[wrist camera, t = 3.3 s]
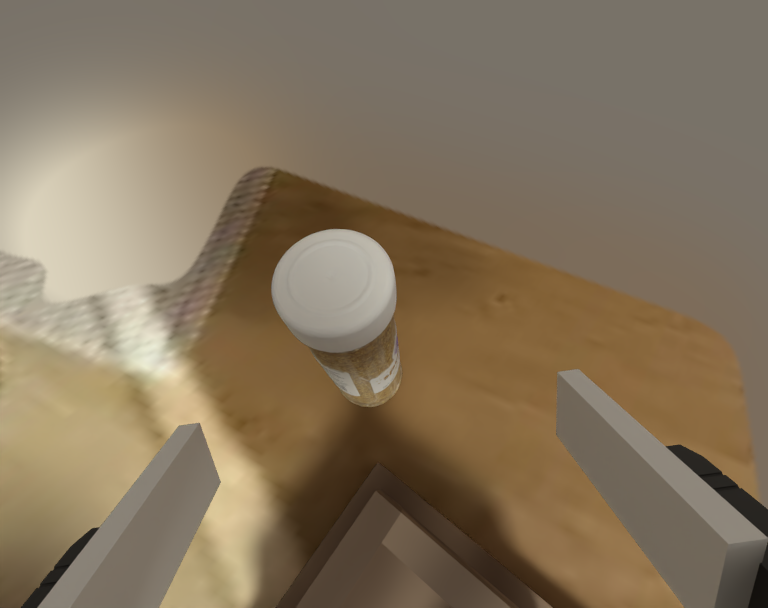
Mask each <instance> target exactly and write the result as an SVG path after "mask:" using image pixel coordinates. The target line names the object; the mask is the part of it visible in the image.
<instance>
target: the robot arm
mask: <svg viewBox="0 0 768 608" xmlns="http://www.w3.org/2000/svg"><path fill="white" fill-rule="evenodd" d="M556 435H557V436H558V438H559V439H560V440H561V442H562V443H563V444H564V446H565V447H566V449H567V450H568V451H569V453H570V454H571V455H572V457H573V458H574V459H575V461H576V462H577V463H578V465H579V466H580V467H581V469H582V470H583V471H584V473H585V474H586V475H587V477H588V478H589V479H590V481H591V482H592V483H593V485H594V486H595V488H596V489H597V490H598V492H599V493H600V494H601V496H602V497H603V498H604V500H605V501H606V502H607V504H608V505H609V506H610V508H611V509H612V510H613V512H614V513H615V514H616V516H617V517H618V518H619V520H620V521H621V522H622V524H623V525H624V527H625V528H626V529H627V531H628V532H629V533H630V535H631V536H632V537H633V539H634V540H635V541H636V543H637V544H638V545H639V547H640V548H641V549H642V551H643V552H644V553H645V555H646V556H647V557H648V559H649V560H650V561H651V563H652V564H653V566H654V567H655V568H656V570H657V571H658V572H659V574H660V575H661V576H662V578H663V579H664V580H665V582H666V583H667V584H668V586H669V587H670V588H671V590H672V591H673V592H674V594H675V595H676V596H677V598H678V599H679V600H680V602H681V603H682V605H683V606H684V607H685V608H768V509H766V508H765V507H764V506H763V505H762V504H760V503H759V502H758V501H757V500H755V499H754V498H753V497H752V496H751V495H749V494H748V493H747V492H746V491H744V490H743V489H742V488H741V489H740V488H739V487H738V485H737V484H736V483H735V482H733V481H732V480H731V479H730V478H729V477H727V476H726V475H723V474H722V472H721V471H720V470H719V469H718V468H716V467H715V466H714V465H713V464H712V463H710V462H709V461H708V460H707V459H705V458H704V457H703V456H701V455H699V454H697V453H695V452H693V451H691V450H689V449H688V448H686V447H684V446H682V445H673V446H666V447H665V446H664V445H663V444H662V443H661V442H660V441H659V440H657V439H656V438H655V437H654V436H653V435H652V434H651V433H650V432H648V431H647V430H646V429H645V428H644V427H643V426H642V425H641V424H639V423H638V422H637V421H636V420H635V419H634V418H633V417H632V416H630V415H629V414H628V413H627V412H626V411H625V410H624V409H623V408H621V407H620V406H619V405H618V404H617V403H616V402H615V401H614V400H613V399H611V398H610V397H609V396H608V395H607V394H606V393H605V392H604V391H602V390H601V389H600V388H599V387H598V386H597V385H596V384H595V383H593V382H592V381H591V380H590V379H589V378H588V377H587V376H586V375H584V374H583V373H582V372H581V371H580V370H579V369H575V370H568V371H561V372H557V422H556ZM220 483H221V482H220V479H219V476H218V473H217V470H216V468H215V465H214V462H213V459H212V456H211V453H210V451H209V448H208V445H207V442H206V439H205V437H204V434H203V431H202V428H201V425H200V423H195V424H188V425H181V426H178V428H177V429H176V430H175V431H174V433H173V434H172V435H171V437H170V438H169V439H168V440H167V442H166V443H165V444H164V446H163V447H162V448H161V449H160V451H159V452H158V453H157V455H156V456H155V457H154V458H153V460H152V461H151V462H150V464H149V465H148V466H147V467H146V469H145V470H144V471H143V473H142V474H141V475H140V476H139V478H138V479H137V480H136V482H135V483H134V484H133V485H132V487H131V488H130V489H129V491H128V492H127V493H126V494H125V496H124V497H123V498H122V500H121V501H120V502H119V503H118V505H117V506H116V507H115V509H114V510H113V511H112V512H111V514H110V515H109V516H108V518H107V519H106V520H105V521H104V523H103V524H102V525H101V527H99V528H92V529H91V530H90V531H88V532H87V533H86V534H85V535H84V536H83V537H81V538H80V539H79V540H78V541H77V542H76V543H74V544H73V545H72V546H71V547H70V548H69V549H68V551H67V552H66V553H65V554H64V555H63V557H62V558H61V559H60V560H59V562H58V563H57V564H56V565H55V566H54V570H53V571H50V573H49V574H48V575H47V576H46V577H45V579H44V580H43V581H42V582H41V584H40V587H39V588H36V590H35V591H34V592H33V593H32V595H31V596H30V597H29V598H28V600H27V601H26V602H25V603H24V604H23V606H22V607H21V608H159V606H160V604H161V602H162V600H163V598H164V596H165V594H166V592H167V590H168V588H169V586H170V584H171V582H172V580H173V578H174V576H175V574H176V572H177V570H178V568H179V566H180V564H181V562H182V560H183V558H184V556H185V554H186V552H187V550H188V548H189V546H190V543H191V541H192V539H193V537H194V535H195V533H196V531H197V529H198V527H199V525H200V523H201V521H202V519H203V517H204V515H205V513H206V511H207V509H208V507H209V505H210V503H211V501H212V499H213V497H214V495H215V493H216V491H217V489H218V487H219V485H220Z"/></svg>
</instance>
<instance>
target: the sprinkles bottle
mask: <svg viewBox="0 0 768 608" xmlns="http://www.w3.org/2000/svg"><path fill="white" fill-rule="evenodd" d="M271 289H272V299H273V303H274V306H275V308H276V310H277V312H278V314H279V315H280V317H281V318H282V320H283V321H284V323H285V324H286V326H287V327H288V328H289V330H290V331H291V332H292V333H293V335H294V336H295V337H296V338H297V339H298V340H299V341H301V342H302V343H304V344H305V345H307V346H308V347H309V348H310V350H311V352H312V354H313V355H314V357H315V358H316V360H317V361H318V362H319V363H320V365H321V366H322V367H323V369H324V370H325V371H326V372H327V374H328V375H329V376H330V378H331V379H332V380H333V381H334V383H335V384H336V385H337V386H338V387H339V389H340V391H341V393H342V394H343V395H344V396H345V397H346V398H347V399H348V400H349V401H350V402H352V403H354V404H357V405H359V406H362V407H363V406H365V407H375V406H378V405H381V404H383V403H385V402H386V401H388V400H389V399H390V398H391V397H392V396H394V394H395V393H396V392H397V390H398V388H399V386H400V383H401V379H402V366H401V363H400V355H399V347H398V339H397V330H396V324H395V320H394V311H395V306H396V298H397V297H396V281H395V274H394V269H393V265H392V262H391V260H390V258H389V256H388V254H387V253H386V251H385V250H384V249H383V248H382V247H381V246H380V245H379V244H378V243H377V242H376V241H375V240H373V239H372V238H370V237H368V236H366V235H364V234H362V233H359V232H357V231H352V230H346V229H329V230H324V231H320V232H317V233H314V234H311V235H309V236H307V237H305V238H303V239H301V240H300V241H298V242H297V243H295V244H294V245H293V246H292V247H291V248H290V249H289V250H288V251H287V252H286V253H285V254H284V255H283V257H282V258H281V260H280V261H279V263H278V264H277V267H276V269H275V272H274V275H273V279H272V286H271Z"/></svg>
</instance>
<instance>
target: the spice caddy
mask: <svg viewBox="0 0 768 608" xmlns="http://www.w3.org/2000/svg"><path fill="white" fill-rule="evenodd" d="M276 608H553V607H552V606H551V605H550V604H548V603H547V602H546V601H545V600H544V599H542V598H541V597H540V596H539V595H538V594H536V593H535V592H534V591H533V590H532V589H530V588H529V587H528V586H527V585H526V584H524V583H523V582H522V581H521V580H520V579H518V578H517V577H516V576H515V575H514V574H512V573H511V572H510V571H509V570H508V569H506V568H505V567H504V566H503V565H502V564H500V563H499V562H498V561H497V560H496V559H494V558H493V557H492V556H491V555H490V554H488V553H487V552H486V551H485V550H484V549H482V548H481V547H480V546H479V545H477V544H476V543H475V542H474V541H473V540H471V539H470V538H469V537H468V536H467V535H465V534H464V533H463V532H462V531H461V530H459V529H458V528H457V527H456V526H455V525H453V524H452V523H451V522H450V521H449V520H447V519H446V518H445V517H444V516H443V515H441V514H440V513H439V512H438V511H437V510H435V509H434V508H433V507H432V506H431V505H429V504H428V503H427V502H426V501H425V500H423V499H422V498H421V497H420V496H419V495H417V494H416V493H415V492H414V491H413V490H411V489H410V488H409V487H408V486H407V485H405V484H404V483H403V482H402V481H401V480H399V479H398V478H397V477H396V476H395V475H393V474H392V473H391V472H390V471H389V470H387V469H386V468H385V467H384V466H383V465H381V464H380V463H379V462H378V463H377V464H376V465H375V467H374V468H373V470H372V471H371V473H370V474H369V475H368V477H367V478H366V480H365V481H364V482H363V484H362V485H361V487H360V488H359V490H358V491H357V492H356V494H355V495H354V497H353V498H352V500H351V501H350V502H349V504H348V505H347V507H346V508H345V510H344V511H343V512H342V514H341V515H340V517H339V518H338V520H337V521H336V522H335V524H334V525H333V527H332V528H331V529H330V531H329V532H328V534H327V535H326V537H325V538H324V539H323V541H322V542H321V544H320V545H319V547H318V548H317V549H316V551H315V552H314V554H313V555H312V557H311V558H310V559H309V561H308V562H307V564H306V565H305V566H304V568H303V569H302V571H301V572H300V574H299V575H298V576H297V578H296V579H295V581H294V582H293V584H292V585H291V586H290V588H289V589H288V591H287V592H286V594H285V595H284V596H283V598H282V599H281V601H280V602H279V603H278V605H277V606H276Z"/></svg>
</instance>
